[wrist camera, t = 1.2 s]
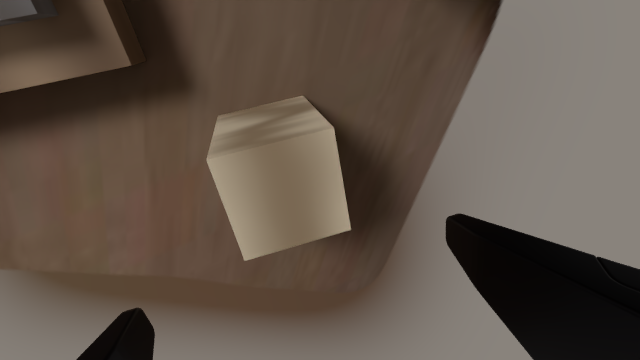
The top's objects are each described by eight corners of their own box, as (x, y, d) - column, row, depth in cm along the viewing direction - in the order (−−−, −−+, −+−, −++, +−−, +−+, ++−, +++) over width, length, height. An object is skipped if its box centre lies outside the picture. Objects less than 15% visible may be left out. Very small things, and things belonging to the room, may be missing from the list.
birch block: (302, 95, 19) (333, 127, 12) (318, 170, 21) (350, 229, 15) (218, 115, 18) (206, 159, 12) (243, 190, 20) (244, 261, 14)
